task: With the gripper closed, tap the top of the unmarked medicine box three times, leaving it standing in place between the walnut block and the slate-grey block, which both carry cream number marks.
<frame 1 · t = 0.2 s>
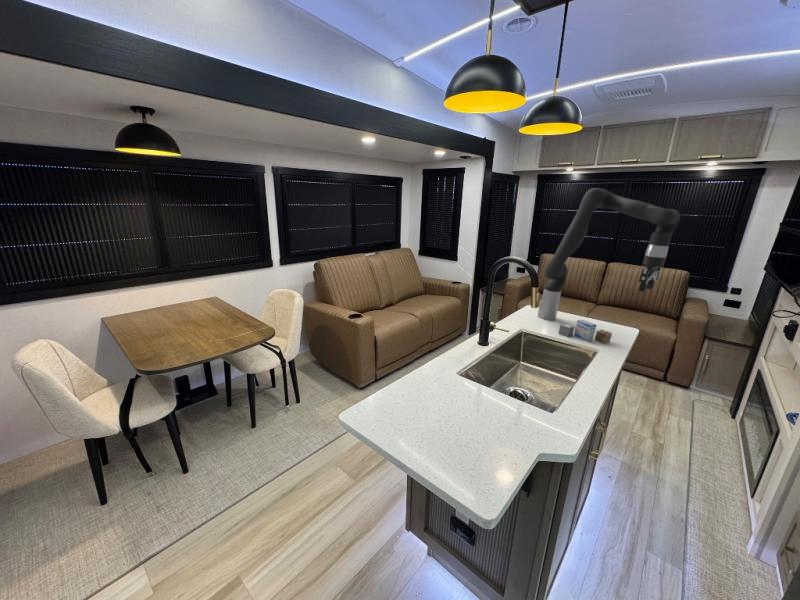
hand: (645, 290, 147), 29 cm above the counter, fingers open, 8 cm apart
medicine box: (582, 338, 164), on the counter
slate block: (565, 334, 167), on the counter
walnut block: (602, 341, 161), on the counter
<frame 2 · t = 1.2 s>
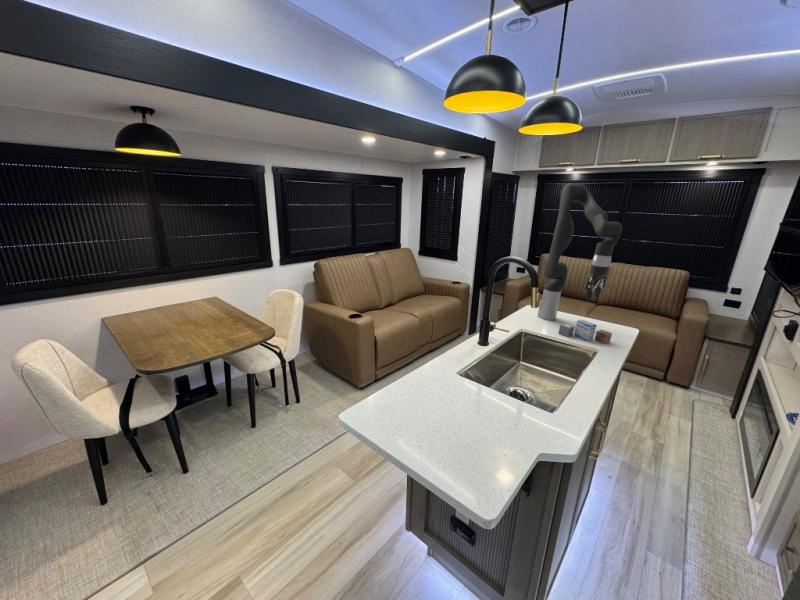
hand: (592, 297, 157), 22 cm above the counter, fingers open, 7 cm apart
nothing on the counter moved.
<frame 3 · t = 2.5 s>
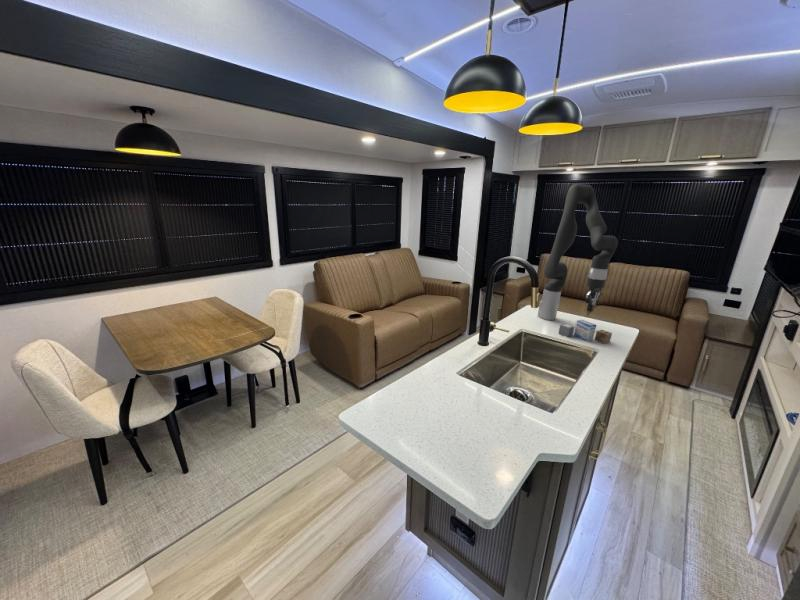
hand: (589, 311, 159), 15 cm above the counter, fingers closed
nothing on the counter moved.
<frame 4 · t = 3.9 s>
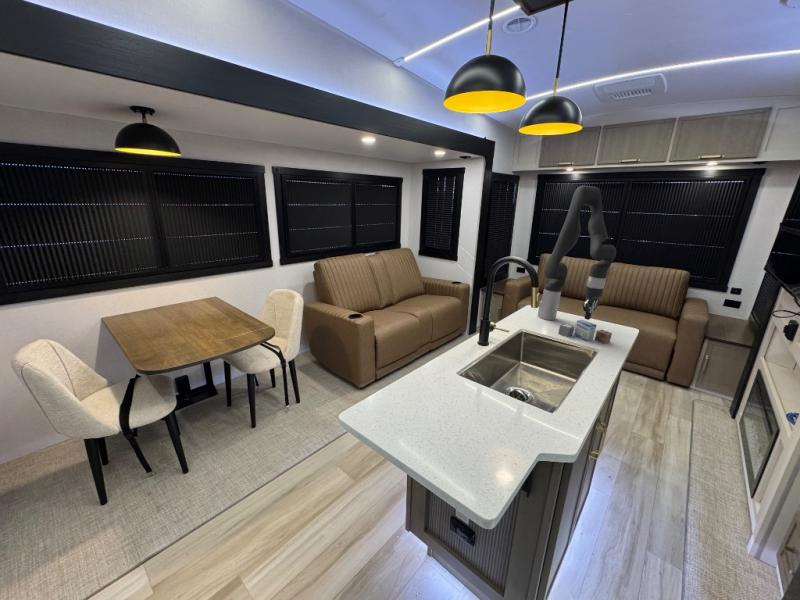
hand: (587, 319, 161), 10 cm above the counter, fingers closed
nothing on the counter moved.
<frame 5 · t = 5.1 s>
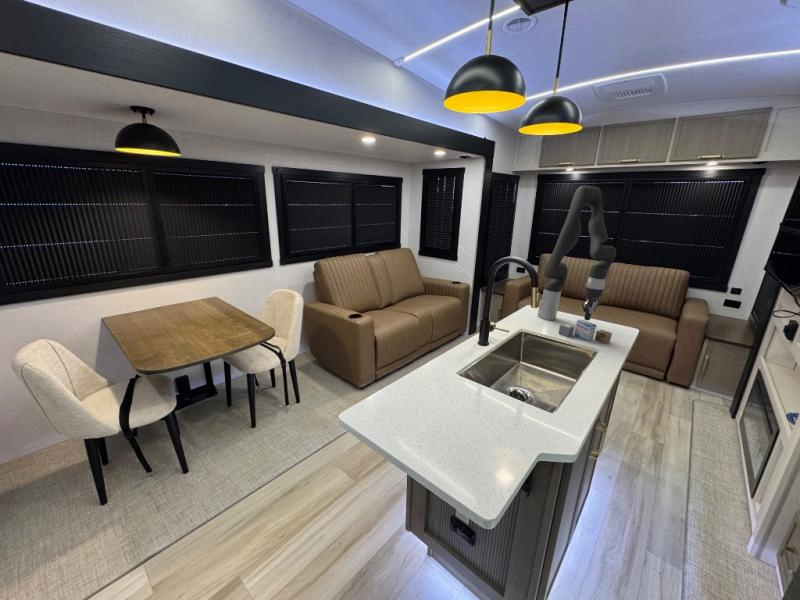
hand: (586, 319, 161), 10 cm above the counter, fingers closed
nothing on the counter moved.
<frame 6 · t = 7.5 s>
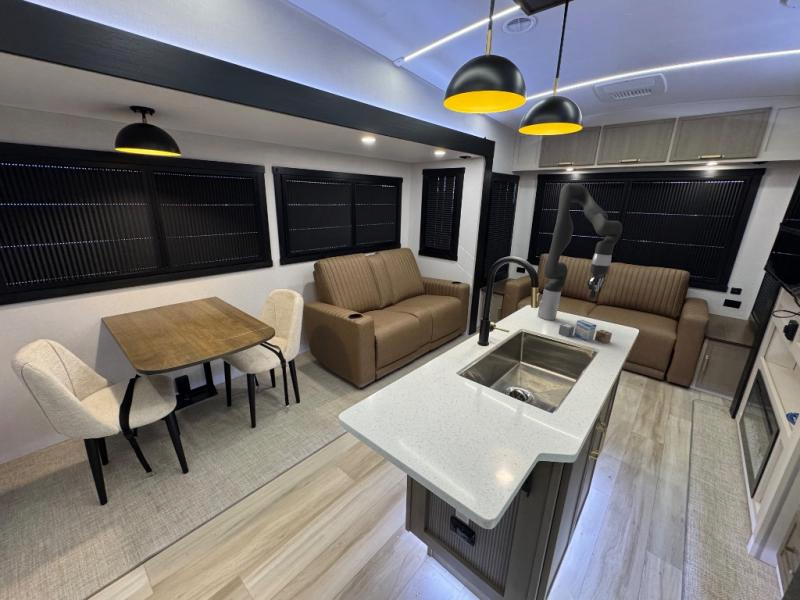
hand: (592, 297, 158), 21 cm above the counter, fingers closed
nothing on the counter moved.
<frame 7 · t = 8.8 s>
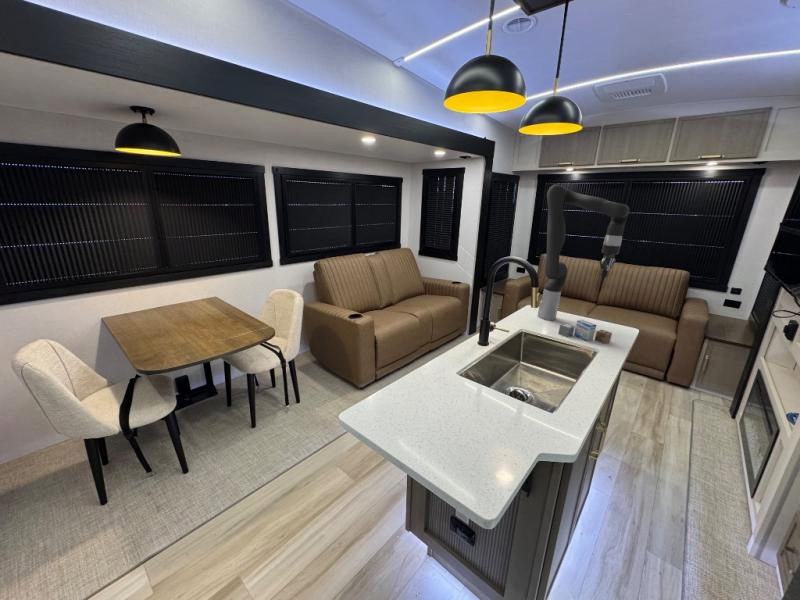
hand: (604, 277, 169), 29 cm above the counter, fingers closed
nothing on the counter moved.
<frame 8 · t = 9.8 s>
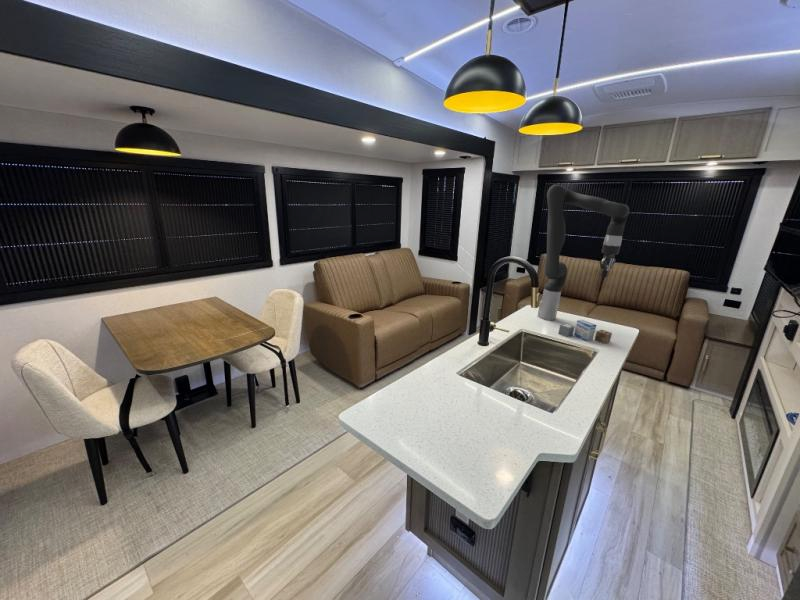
hand: (604, 277, 169), 29 cm above the counter, fingers closed
nothing on the counter moved.
at the end: medicine box moved 0.3 cm from its start; medicine box tilted 0°; walnut block moved 0.1 cm from its start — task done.
